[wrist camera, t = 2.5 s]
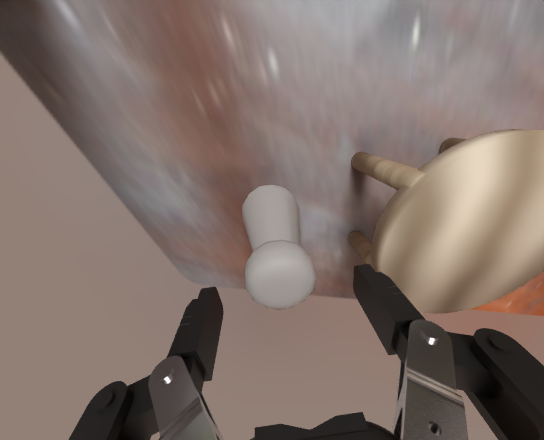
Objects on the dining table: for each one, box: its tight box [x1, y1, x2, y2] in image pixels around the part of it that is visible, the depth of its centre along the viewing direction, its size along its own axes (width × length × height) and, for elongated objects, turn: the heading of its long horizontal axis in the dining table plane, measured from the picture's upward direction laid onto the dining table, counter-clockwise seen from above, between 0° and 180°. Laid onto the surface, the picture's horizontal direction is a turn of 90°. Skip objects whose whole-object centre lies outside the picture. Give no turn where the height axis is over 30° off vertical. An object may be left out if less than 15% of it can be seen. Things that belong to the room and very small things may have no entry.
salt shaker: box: [243, 184, 316, 310], centre depth 17 cm, size 6×6×13 cm
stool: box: [348, 129, 544, 314], centre depth 19 cm, size 15×15×10 cm
